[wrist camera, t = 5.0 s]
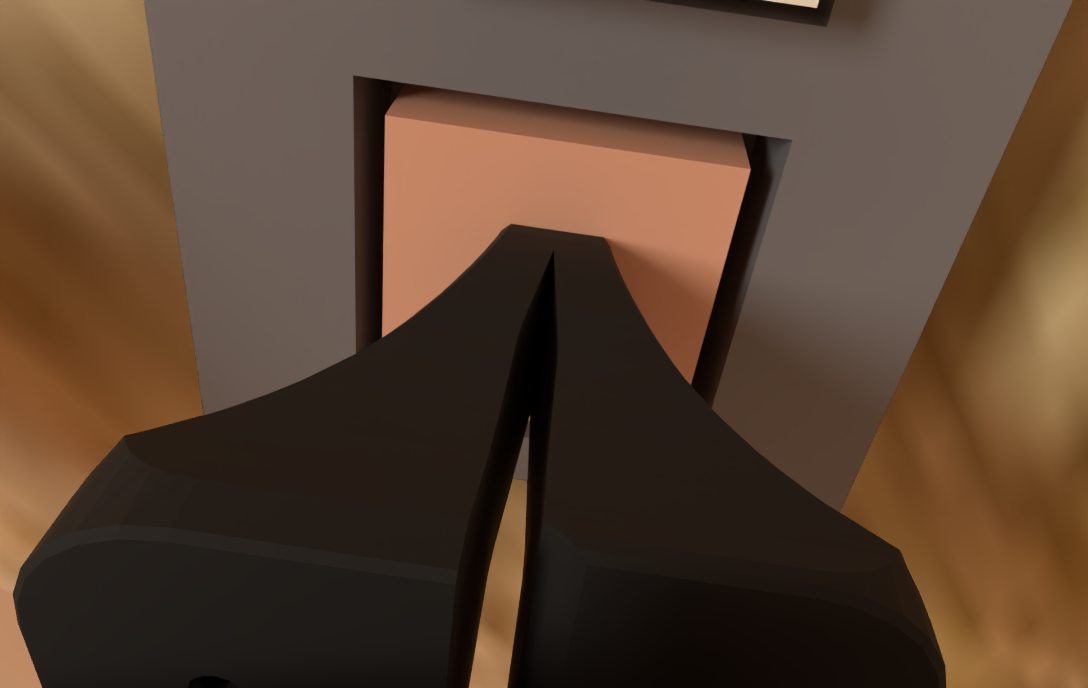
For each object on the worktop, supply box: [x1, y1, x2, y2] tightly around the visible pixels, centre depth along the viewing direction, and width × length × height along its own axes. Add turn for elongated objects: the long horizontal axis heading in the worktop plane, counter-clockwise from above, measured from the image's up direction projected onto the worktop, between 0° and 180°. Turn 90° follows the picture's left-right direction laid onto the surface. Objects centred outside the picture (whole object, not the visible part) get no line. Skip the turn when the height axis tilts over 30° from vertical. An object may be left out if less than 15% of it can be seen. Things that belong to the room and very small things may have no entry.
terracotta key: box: [382, 83, 751, 421], centre depth 12 cm, size 4×4×2 cm
